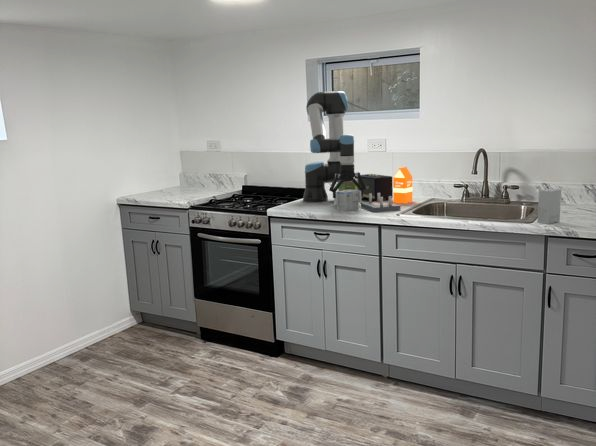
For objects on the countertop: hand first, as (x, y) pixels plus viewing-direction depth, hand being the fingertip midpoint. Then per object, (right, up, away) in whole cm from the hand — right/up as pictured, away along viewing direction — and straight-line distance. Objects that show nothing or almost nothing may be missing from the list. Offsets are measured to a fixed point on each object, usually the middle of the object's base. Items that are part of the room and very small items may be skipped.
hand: (348, 203), depth 300 cm
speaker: (+19, +4, +36) cm, 41 cm away
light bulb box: (0, -4, +1) cm, 4 cm away
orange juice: (+34, +1, +22) cm, 40 cm away
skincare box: (+85, -11, -52) cm, 100 cm away
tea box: (+2, -1, +18) cm, 18 cm away
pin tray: (+18, -3, +1) cm, 18 cm away
